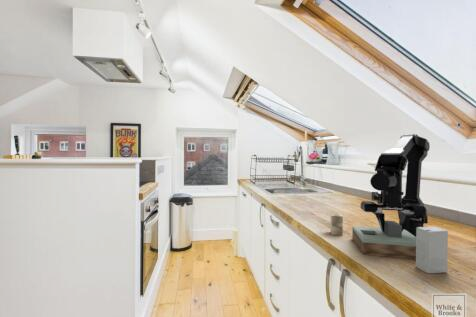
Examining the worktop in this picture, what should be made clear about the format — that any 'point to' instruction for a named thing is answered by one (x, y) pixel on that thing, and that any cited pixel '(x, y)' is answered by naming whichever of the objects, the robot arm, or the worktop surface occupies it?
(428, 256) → the skincare box
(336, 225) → the beige rectangular block
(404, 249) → the toolbox base
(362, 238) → the toolbox lid
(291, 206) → the worktop surface
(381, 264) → the worktop surface
